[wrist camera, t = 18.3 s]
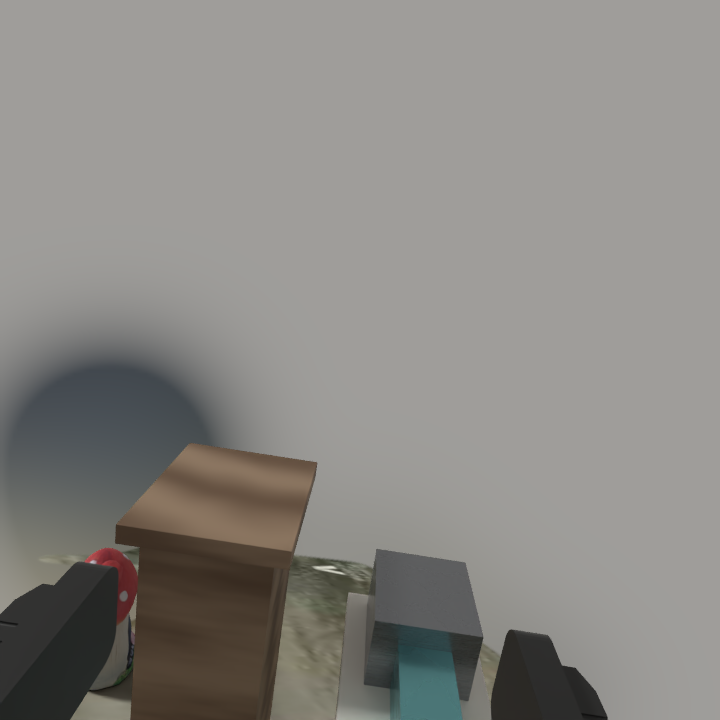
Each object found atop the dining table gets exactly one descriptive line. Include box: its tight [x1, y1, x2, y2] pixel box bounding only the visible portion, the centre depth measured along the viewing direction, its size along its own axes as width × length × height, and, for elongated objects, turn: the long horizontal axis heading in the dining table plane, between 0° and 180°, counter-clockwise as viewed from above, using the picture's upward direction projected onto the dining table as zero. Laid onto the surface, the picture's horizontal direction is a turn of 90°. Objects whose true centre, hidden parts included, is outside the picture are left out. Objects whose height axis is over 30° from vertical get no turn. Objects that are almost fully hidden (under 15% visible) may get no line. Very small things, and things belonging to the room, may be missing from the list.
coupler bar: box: [364, 549, 483, 720], centre depth 33 cm, size 20×7×5 cm, turn 177°
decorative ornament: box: [85, 548, 138, 690], centre depth 57 cm, size 9×6×15 cm
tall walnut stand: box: [115, 443, 317, 720], centre depth 40 cm, size 16×14×32 cm
